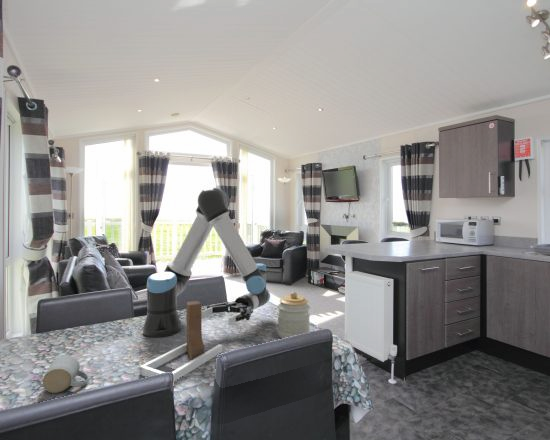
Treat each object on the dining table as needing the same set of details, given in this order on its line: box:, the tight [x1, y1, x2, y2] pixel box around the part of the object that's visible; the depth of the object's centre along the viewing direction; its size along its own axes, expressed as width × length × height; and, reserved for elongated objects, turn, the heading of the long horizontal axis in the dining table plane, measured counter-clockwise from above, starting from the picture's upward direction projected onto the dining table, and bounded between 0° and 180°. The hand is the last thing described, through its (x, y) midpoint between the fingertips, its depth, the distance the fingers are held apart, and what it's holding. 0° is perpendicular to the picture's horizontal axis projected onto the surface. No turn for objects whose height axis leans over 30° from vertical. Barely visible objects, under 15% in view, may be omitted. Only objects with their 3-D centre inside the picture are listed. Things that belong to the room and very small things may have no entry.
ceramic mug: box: [42, 354, 89, 394], centre depth 94 cm, size 11×8×8 cm
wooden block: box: [185, 300, 205, 361], centre depth 113 cm, size 9×4×18 cm, turn 25°
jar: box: [277, 291, 311, 339], centre depth 132 cm, size 13×13×18 cm
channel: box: [139, 342, 223, 383], centre depth 109 cm, size 12×25×2 cm, turn 151°
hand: (214, 318), depth 122 cm, fingers open, 13 cm apart
